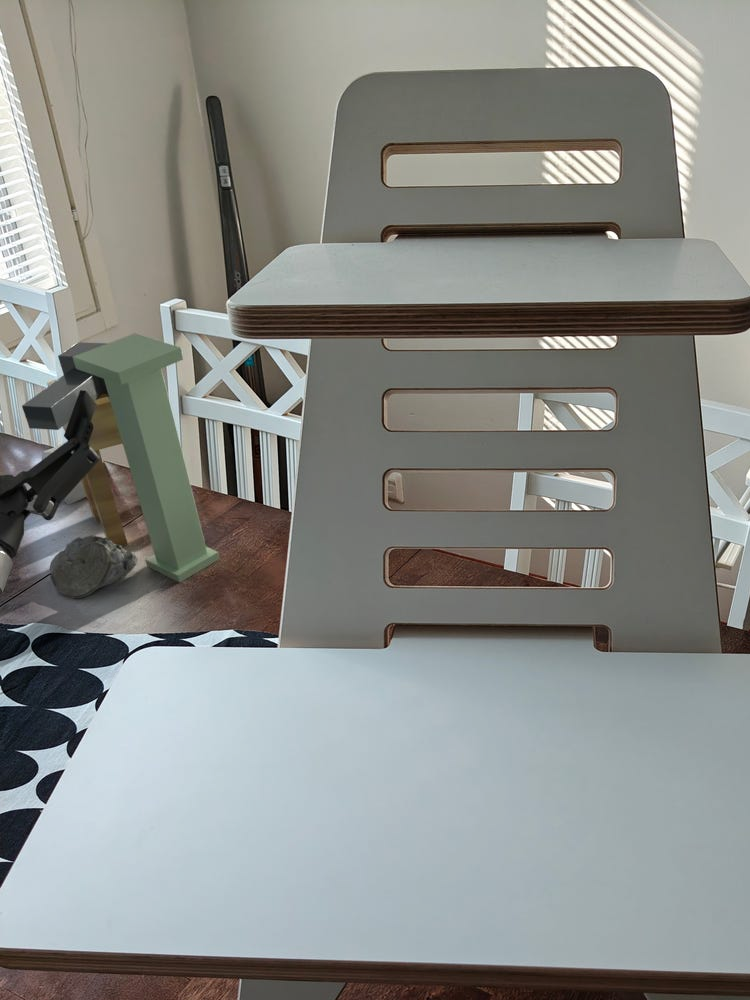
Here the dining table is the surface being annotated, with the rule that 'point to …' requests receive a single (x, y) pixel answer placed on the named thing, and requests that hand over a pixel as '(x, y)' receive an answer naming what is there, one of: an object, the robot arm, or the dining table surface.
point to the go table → (103, 471)
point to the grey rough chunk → (89, 565)
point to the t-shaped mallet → (63, 392)
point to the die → (78, 491)
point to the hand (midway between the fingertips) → (38, 394)
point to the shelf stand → (152, 449)
